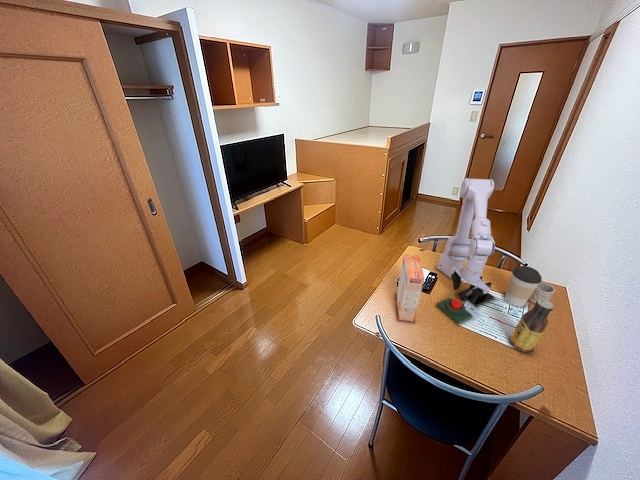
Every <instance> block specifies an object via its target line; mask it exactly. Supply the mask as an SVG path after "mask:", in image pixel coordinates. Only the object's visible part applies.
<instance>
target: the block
mask: <svg viewBox="0 0 640 480" xmlns="http://www.w3.org/2000/svg"><path fill="white" fill-rule="evenodd" d="M452 300H454V299H453V298H452V297H450V298H447V299H445V300H442V301H440V302H439V303H437V304H436V307H437V308H438V309H439V311H441V312H442V313H443V314H444V315H446V316H447V317H448V318H449V319H451V321H453V322H454V323H455V324H456V325H460V324H462V323H464V322H467V321H468V320H470V319H472V318H473V314H472V313H470V311H468V310H467V309H466V306H465V304H464V303H462V306H461V309H460V310H455V309H453V308H452V307H451V306H450V304H451V301H452Z"/></svg>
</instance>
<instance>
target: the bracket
mask: <svg viewBox="0 0 640 480" xmlns="http://www.w3.org/2000/svg"><path fill="white" fill-rule="evenodd" d="M480 279H481V280H483V276H481V277H480ZM486 285H487V286H488V287H489V288H490V289H491V287H492V282H491V281H488V282H486ZM474 287H475V286H473V285H471V284H470V286H469V288H467V289H465V290H462V291H459V296H460V295H462V294H466V293H467V292H469V291H470V290H471V289H473V288H474ZM471 297H472V294H471V295H470V296H468V297H467V300H466V301H467V302H469V303H470V304H471V305H473V306H474V307H475V308H477V307H480V306H482V305H484V304H486V303H489V302H490V301H493V300H494V299H495V296H494V295H492V294H491V293H489V292H488V293H486V294H484V293H483V294H482V295H481V296H479V297H478V298H477V300H476V301H475V302H473V303H471V302H470V299H471Z"/></svg>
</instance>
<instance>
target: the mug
mask: <svg viewBox="0 0 640 480" xmlns="http://www.w3.org/2000/svg"><path fill="white" fill-rule="evenodd" d="M555 292H556V288H555V287H554V286H553V285H551V283H550V284H549V283H547V282H544V281H541V282H540V283H539V284H538V287H537V288H536V290H535V291H534V292H533V294H532V295H531V297H530V298H529V299H528V300H529V301H530V302H531V303H533V304H535V302H536V301H537V300H538V299H546V300H548V301H551V298H552V297H553V295H554V293H555Z"/></svg>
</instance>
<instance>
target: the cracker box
mask: <svg viewBox="0 0 640 480" xmlns="http://www.w3.org/2000/svg"><path fill="white" fill-rule="evenodd" d="M423 270H424V269H423V266H422V262H421V257H420V255H418V254H417V255H415V254H406V253H403V258H402V263H401V269H400V274H399V279H398V285H397V290H396V306H397V318H398V320H399V321H406V322H412V323H414V321H415V318H416V314H417V311H418V307H419V302H420V299H421V295H422V290H423V286H424V282H425V275H424V271H423Z"/></svg>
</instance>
